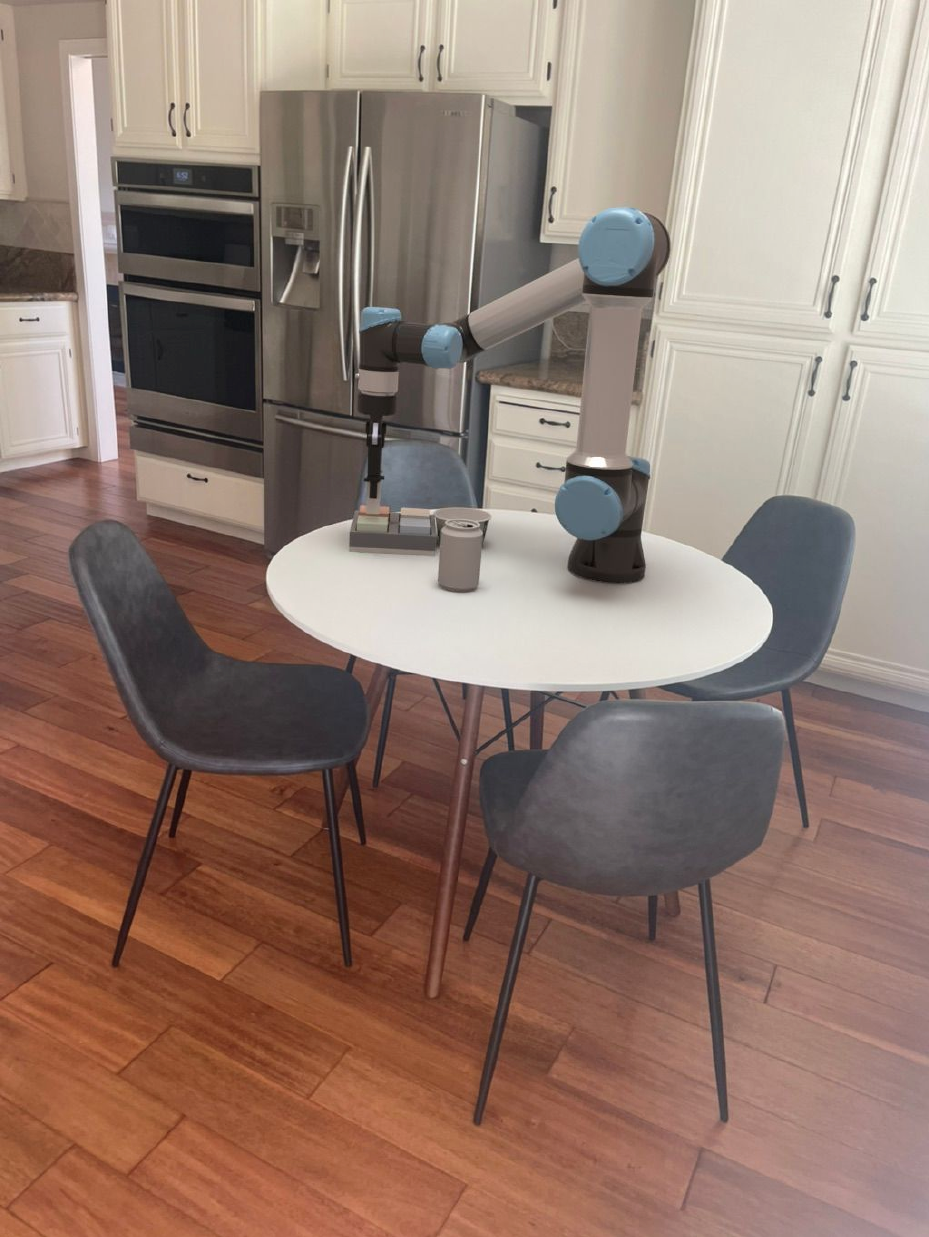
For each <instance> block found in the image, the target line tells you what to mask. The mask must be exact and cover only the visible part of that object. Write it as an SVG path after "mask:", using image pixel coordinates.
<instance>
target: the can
mask: <svg viewBox="0 0 929 1237" xmlns="http://www.w3.org/2000/svg"><path fill="white" fill-rule="evenodd" d="M445 524H446V525H445V526H444V527H443V528H442V529H441V539H440V545H439V559H438V573H437V574H438V575H437V582H438V584H439V585H441V587H442V588H443V589H445V590H447V591H452V592H460V593H463V592H470V591H472V590H474V589H475V588H476V587H478V586H479V585H480V575H481V574H480V572H481V560H482V548H483V547H482V538H483V532H482V531H481V529H480V528H479V527H480V524H479V523H478V522H476V521H473V520H468V519H450V520H447V521H446V522H445Z"/></svg>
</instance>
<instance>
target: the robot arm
mask: <svg viewBox="0 0 929 1237" xmlns="http://www.w3.org/2000/svg"><path fill="white" fill-rule="evenodd" d="M577 246H578V247H577V258H576V259H574V260H571V261H570V262H568V263H566V264H564V265H563V266H560V267H558V268H556V269H554V270H553V271H550V272H548V273H546V274H544V275H542V276H540V277H539V278H537V279H534V280H532V281H531V282H529V283H527V284H524V285H522V286H521V287H518V288H516V289H515V290H512V291H511V292H509V293H507V294H505V295H503V296H502V297H499V298H497V299H495V300H493V301H491V302H490V303H488V304H485V305H483V306H481V307H480V308H478V309H475V310H473V311H472V312H469V313H468V314H466V315H464V316H461V317H460V318H458V319H455V320H454V321H452V322H442V323H441V322H439V323H436V322H435V323H423V322H422V323H421V322H409V321H405V320H402V318H403V317H402V313H401V311H400V310H399V309H397V308H391V307H382V306H381V307H379V306H367V307H364V308H363V309H362V310H361V313H360V321H359V322H360V324H359V325H360V326H359V330H358V334H359V347H358V348H359V352H358V354H359V355H358V356H359V357H358V358H359V359H358V361H359V362H358V372H357V373H355V375H354V377H355V379H358V383H357V385H358V386H357V389H358V390H359V391H361V392H358V394H357V400H356V401H357V403H356V404H357V406H356V407H357V408H356V409H357V410H356V411H357V413H358V414H362V415H368V416H369V421H366V423H365V433H366V441H365V443H366V447H367V448H368V449H367V475H366V477H363V482H364V483H365V482H366V500H365V501H366V502H365V505H366V514H380V506H381V494H382V493H381V492H382V491H381V490H382V480H383V481H384V480H385V476H384V475H382V472H383V470H382V456H383V455H382V454H383V453H382V452H383V448H384V447H385V443H386V442H385V441H386V433H387V427H388V426H387V424H388V423H387V422H383V421H384V416H385V417H390V416H394V415H396V414H397V408H398V407H397V405H398V396H397V395H396V394H395V393H397V392H398V391H399V390H398V389H399V374H400V373H399V368H400V367H399V366H400V364H408V365H413V366H414V365H415V366H418V367H419V366H421V367H426V368H432V369H435V370H437V369H446V370H447V369H448V370H449V369H450V370H451V369H453V368H455V367H457V364H459V363H462V364H463V363H467V362H469V361H472V360H474V359H476V358H477V357H479V355H480V354H481V353H483V352H485V351H487V350H489V349H491V348H494V347H495V346H497V345H499V344H501V343H504V342H506V341H507V340H510V339H512V338H514V337H516V336H518V335H520V334H522V333H525V332H527V331H529V330H531V329H534V328H535V327H537V326H539V325H542V324H543V323H546V322H547V321H548V322H549V321H550V320H552V319H555V318H556V317H559V316H560V315H562V314H565V313H567V312H569V311H571V310H573V309H575V308H577V307H580V306H582V305H583V304H586V303H587V304H588V305H589V313H588V314H589V315H588V316H589V317H588V324H587V333H586V334H587V336H586V346H585V356H584V367H583V377H582V387H581V388H582V389H581V398H580V407H579V418H578V427H577V428H578V429H577V439H576V448H575V450H574V451H573V452H572V453H570V455H568V456H567V458H566V460H565V461H566V463H565V473H564V483H563V484H562V485H560V487H559V489H558V491H557V493H556V496H555V499H554V511H555V515H556V519H557V521H558V523H559V524H560V525H561V527H562V528H563V529H564V530H565V531H566V532H567V533H568V534H569V535H571V536H573V537H574V538H576V539H575V542H574V545H573V546H572V549H571V551H570V553H569V555H568V560H567V570H568V571H569V572H570V573H571V574H573V575H575V576H577V577H579V578H582V579H585V580H589V581H594V582H599V583H606V584H631V583H636V582H640V581H642V580H644V578H645V576H646V568H647V566H646V565H647V563H646V559H645V553H644V548H643V542H642V530H643V524H644V519H645V518H644V517H645V511H646V504H647V497H648V491H649V484H650V479H651V464H650V461H648V460H647V459H644V458H641V457H636V456H629V455H627V453H626V452H627V444H628V435H629V426H630V418H631V410H632V408H631V407H632V402H633V391H634V390H633V389H634V384H635V383H634V382H635V374H636V364H637V356H638V348H639V338H640V330H641V322H642V313H643V312H642V311H643V309H644V308H645V307H646V306H647V305H648V304H649V303H650V302H652V301H653V298H654V293H655V292H654V290H655V289H654V288H655V284H656V283H655V282H656V278H657V277H658V276H659V275H660V274H661V273H662V272H663V271H664V270H665V268H666V266H667V265H668V262H669V260H670V255H671V251H672V250H671V249H672V240H671V237H670V234H669V232H668V230H667V228H666V226H665V224H664V223H663V222H662V221H661V220H660V219H659V218H658V217H656V216H654V215H652V214H649V213H648V212H643V211H641V210H639V209H637V208H634V207H628V206H621V207H610V208H607V209H605V210H602V211H600V212H599V213H597V214H595V215H594V216H593V217H592V218H591V219H590V220H589V221H588V222H587V223H586V225H585V227H584V229H583V230H582V232H581V233H580V237H579V240H578V245H577Z"/></svg>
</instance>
